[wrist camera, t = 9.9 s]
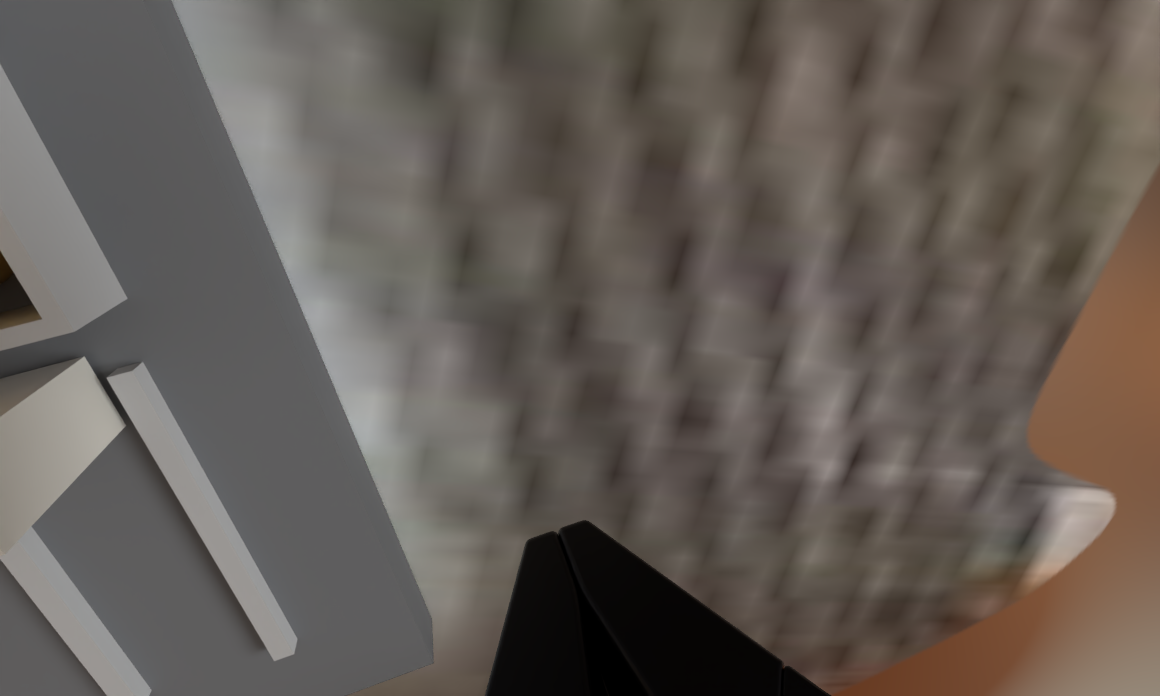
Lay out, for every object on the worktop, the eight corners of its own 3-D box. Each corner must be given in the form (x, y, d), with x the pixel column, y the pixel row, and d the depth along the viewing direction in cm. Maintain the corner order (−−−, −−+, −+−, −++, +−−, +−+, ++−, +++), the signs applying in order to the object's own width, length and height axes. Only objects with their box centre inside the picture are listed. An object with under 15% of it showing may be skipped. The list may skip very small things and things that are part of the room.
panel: (431, 619, 23) (435, 729, 18) (91, 741, 21) (13, 893, 17) (22, -353, 12) (-184, -601, 8) (-764, -280, 10) (-1581, -559, 6)
